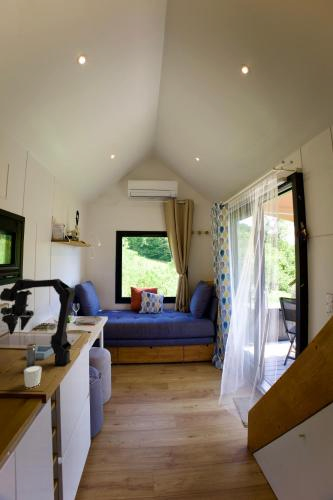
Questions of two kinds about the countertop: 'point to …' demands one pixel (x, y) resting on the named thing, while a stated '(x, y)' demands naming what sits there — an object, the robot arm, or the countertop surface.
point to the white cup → (32, 376)
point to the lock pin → (30, 355)
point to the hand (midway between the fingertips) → (16, 332)
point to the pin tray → (42, 352)
